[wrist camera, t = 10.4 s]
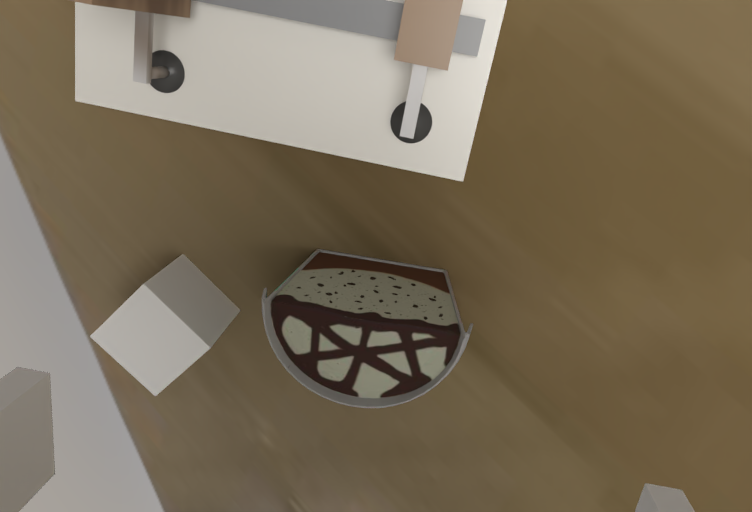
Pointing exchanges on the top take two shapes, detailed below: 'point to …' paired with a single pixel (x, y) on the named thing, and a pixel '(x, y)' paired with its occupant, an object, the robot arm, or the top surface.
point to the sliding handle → (146, 30)
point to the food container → (365, 328)
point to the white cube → (166, 324)
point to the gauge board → (307, 73)
